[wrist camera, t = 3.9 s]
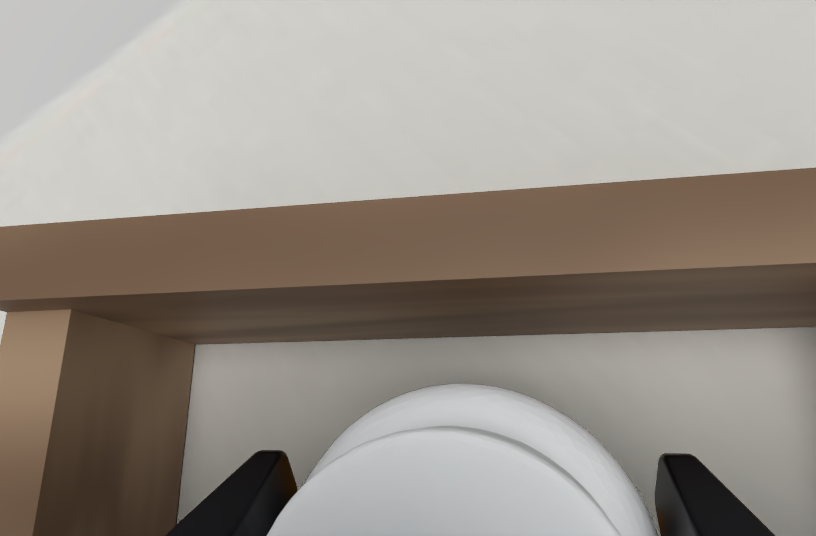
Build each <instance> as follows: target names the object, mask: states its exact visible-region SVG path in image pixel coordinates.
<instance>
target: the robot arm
mask: <svg viewBox="0 0 816 536" xmlns="http://www.w3.org/2000/svg"><path fill="white" fill-rule="evenodd" d="M296 492H297V486H296V482H295V479H294V476H293V473H292V469H291V466H290V463H289V460H288V457H287V455H286V453H285V452H283V451H281V450H261V451H258V452H256V453H255V454H254V455H253V456H251V457H250V458H249V459H248V460H247V461H246V462H245V463H244V464H243V465H242V466H240V467H239V468H238V469H237V470H236V471H235V472H234V473H233V474H232V475H231V476H230V477H228V478H227V479H226V480H225V481H224V482H223V483H222V484H221V485H220V486H219V487H217V488H216V489H215V490H214V491H213V492H212V493H211V494H210V495H209V496H208V497H207V498H205V499H204V500H203V501H202V502H201V503H200V504H199V505H198V506H197V507H196V508H194V509H193V510H192V511H191V512H190V513H189V514H188V515H187V516H186V517H185V518H184V519H182V520H181V521H180V522H179V523H178V524H177V525H176V526H175V527H174V528H173V529H171V530H170V531H169V532H168V533H167V534H166V535H165V536H267V534H268V533H269V531H270V529H271V528H272V526H273V524H274V522H275V520H276V519H277V517H278V516H279V514H280V513H281V511H282V510H283V509H284V507H285V506H286V504H287V503H288V502H289V501H290V499H291V498H292V497H293V496H294V495H295V494H296ZM655 506H656V512H657V518H658V523H659V528H660V533H661V536H775V535H774V534H773V533H772V532H771V531H770V530H769V529H768V528H767V527H766V526H765V525H764V524H763V523H762V522H761V521H760V520H759V519H758V518H757V517H756V516H755V515H754V514H753V513H752V512H751V511H750V510H749V509H748V508H747V507H746V506H745V505H744V504H743V503H742V502H741V501H740V500H739V499H738V498H737V497H736V496H735V495H734V494H733V493H732V492H731V491H730V490H728V489H727V488H726V487H725V486H724V485H723V484H722V483H721V482H720V481H719V480H718V479H717V478H716V477H715V476H714V475H713V474H712V473H711V472H710V471H709V470H708V469H707V468H706V467H705V466H704V465H703V464H702V463H701V462H700V461H699V460H698V459H697V458H696V457H695V456H693V455H691V454H670V453H665V454H662V455H661V456H660V458H659V462H658V471H657V480H656V489H655Z"/></svg>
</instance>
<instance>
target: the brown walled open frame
mask: <svg viewBox="0 0 816 536" xmlns="http://www.w3.org/2000/svg"><path fill="white" fill-rule="evenodd" d="M0 310H1V311H5V312H7V315H6V320H5V325H4V330H3V335H2V340H1V345H0V536H165V535H166V534H167V533H168V532H169V531H170V530H171V529H173V528H174V527H175V526H176V518H177V509H178V499H179V490H180V481H181V471H182V462H183V453H184V443H185V434H186V424H187V415H188V406H189V396H190V387H191V378H192V368H193V359H194V350H195V344H227V343H262V342H297V341H332V340H367V339H402V338H437V337H472V336H507V335H542V334H577V333H611V332H646V331H681V330H716V329H751V328H786V327H816V168H806V169H792V170H778V171H764V172H750V173H737V174H723V175H709V176H695V177H681V178H668V179H654V180H640V181H626V182H612V183H599V184H585V185H571V186H557V187H543V188H530V189H516V190H502V191H488V192H474V193H461V194H447V195H433V196H419V197H406V198H392V199H378V200H364V201H350V202H337V203H323V204H309V205H295V206H281V207H268V208H254V209H240V210H226V211H212V212H199V213H185V214H171V215H157V216H143V217H130V218H116V219H102V220H88V221H74V222H61V223H47V224H33V225H19V226H5V227H0Z"/></svg>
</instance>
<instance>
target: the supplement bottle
mask: <svg viewBox="0 0 816 536" xmlns="http://www.w3.org/2000/svg"><path fill="white" fill-rule="evenodd" d="M267 536H658V534H657V532H656V529H655V526H654V524H653V521H652V519H651V516H650V514H649V512H648V509H647V507H646V506H645V504H644V502H643V500H642V498H641V496H640V494H639V492H638V491H637V489H636V488H635V486H634V485H633V483H632V482H631V480H630V479H629V477H628V476H627V474H626V473H625V472H624V470H623V469H622V468H621V466H620V465H619V464H618V463H617V461H616V460H615V459H614V458H613V457H612V455H611V454H610V453H609V452H608V451H607V450H606V449H605V448H604V447H603V446H602V445H601V444H600V443H599V442H598V441H597V440H596V439H595V438H594V437H593V436H592V435H591V434H590V433H589V432H587V431H586V430H585V429H584V428H583V427H581V426H580V425H579V424H577V423H576V422H574V421H573V420H571V419H570V418H568V417H567V416H565V415H564V414H562V413H561V412H559V411H557V410H556V409H554V408H552V407H551V406H549V405H546V404H544V403H542V402H540V401H538V400H536V399H534V398H532V397H529V396H526V395H524V394H521V393H518V392H515V391H511V390H507V389H503V388H500V387H494V386H487V385H480V384H463V383H458V384H445V385H436V386H429V387H426V388H422V389H418V390H415V391H411V392H407V393H405V394H402V395H400V396H397V397H395V398H393V399H391V400H389V401H387V402H385V403H383V404H381V405H379V406H377V407H375V408H374V409H372V410H371V411H369V412H368V413H366V414H365V415H363V416H362V417H361V418H359V419H358V420H357V421H356V422H354V423H353V424H352V425H351V426H349V427H348V428H347V429H346V430H345V431H344V432H343V433H342V434H341V435H340V436H339V437H338V438H337V439H336V440H335V441H334V443H333V444H332V445H331V446H330V447H329V449H328V450H327V451H326V452H325V454H324V455H323V456H322V458H321V459H320V460H319V462H318V463H317V465H316V466H315V467H314V469H313V470H312V472H311V474H310V475H309V477H308V478H307V480H306V481H305V483H304V485H303V486H302V487H301V488H300V489H299V490H298V491H297V492H296V494H295V495H294V496H293V497H292V498H291V499H290V501H289V502H288V503H287V504H286V506H285V507H284V509H283V510H282V511H281V513H280V514H279V516H278V517H277V519H276V520H275V522H274V524H273V526H272V528H271V529H270V531H269V533H268V534H267Z"/></svg>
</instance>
